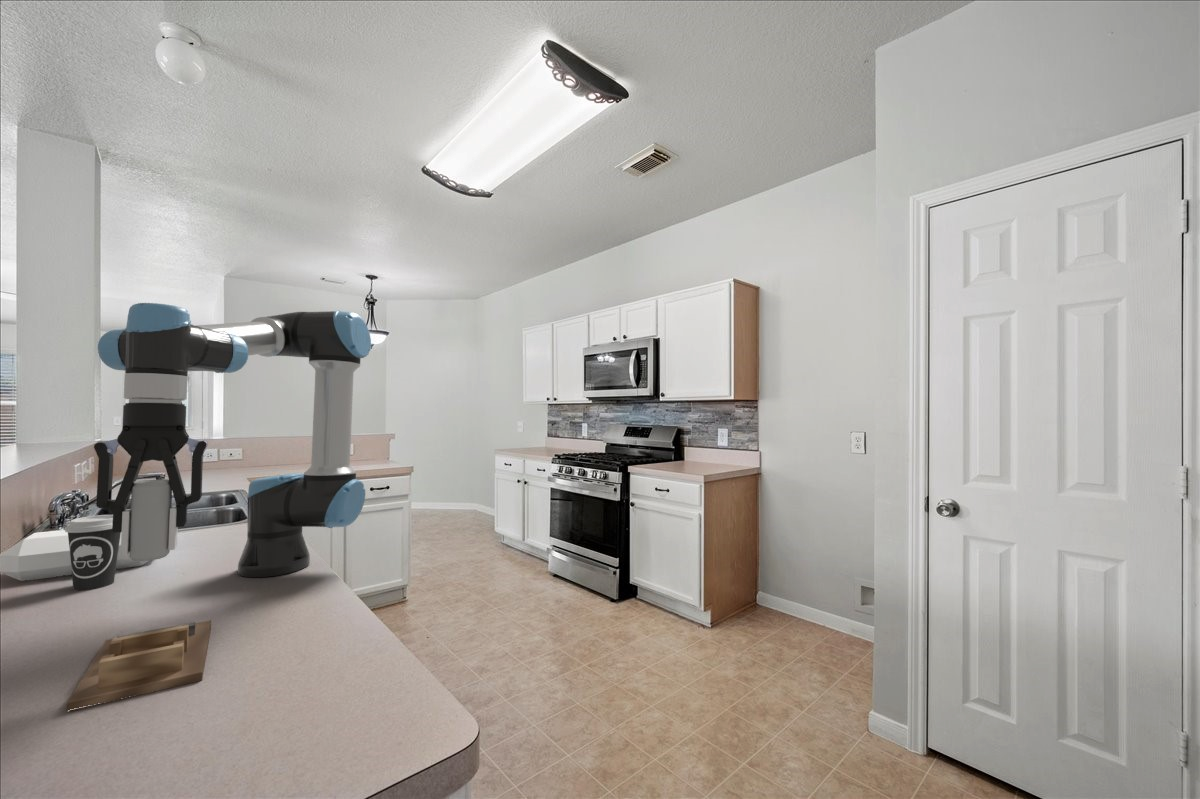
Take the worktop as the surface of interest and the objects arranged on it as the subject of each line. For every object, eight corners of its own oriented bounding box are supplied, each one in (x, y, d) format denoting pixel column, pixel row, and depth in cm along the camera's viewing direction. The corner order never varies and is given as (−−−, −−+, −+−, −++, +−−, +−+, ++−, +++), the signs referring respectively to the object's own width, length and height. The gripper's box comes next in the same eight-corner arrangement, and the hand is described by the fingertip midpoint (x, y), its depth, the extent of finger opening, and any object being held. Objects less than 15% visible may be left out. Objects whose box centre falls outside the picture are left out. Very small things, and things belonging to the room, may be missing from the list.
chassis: (211, 627, 93) (211, 601, 93) (202, 680, 74) (202, 648, 75) (105, 647, 85) (106, 618, 85) (66, 712, 66) (67, 676, 67)
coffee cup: (133, 580, 117) (134, 515, 117) (79, 595, 108) (81, 524, 108) (107, 576, 120) (108, 512, 120) (52, 589, 111) (54, 521, 111)
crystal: (160, 528, 128) (-7, 545, 112) (159, 566, 128) (-9, 588, 112) (167, 518, 140) (16, 532, 124) (166, 553, 140) (15, 571, 123)
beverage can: (144, 563, 77) (147, 483, 77) (120, 561, 78) (123, 482, 78) (177, 554, 81) (180, 479, 82) (154, 553, 82) (157, 478, 83)
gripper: (227, 403, 88) (222, 538, 87) (84, 401, 79) (77, 553, 78) (224, 402, 82) (219, 547, 81) (68, 399, 72) (60, 564, 71)
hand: (149, 550), depth 79 cm, fingers closed on beverage can, 5 cm apart
